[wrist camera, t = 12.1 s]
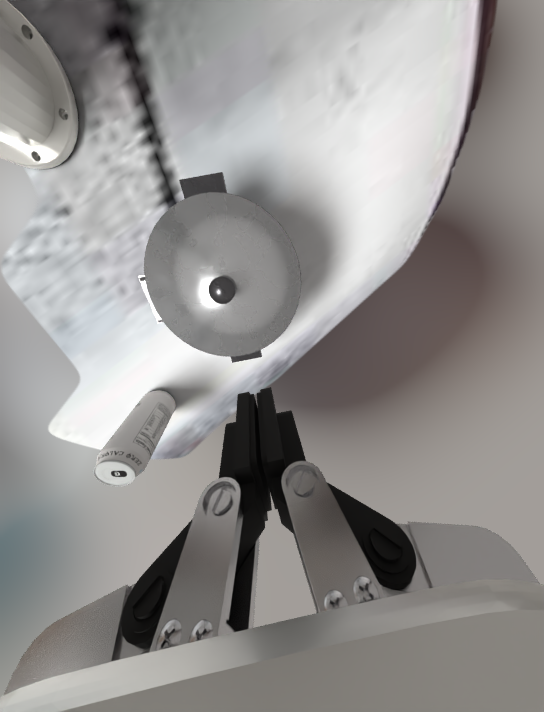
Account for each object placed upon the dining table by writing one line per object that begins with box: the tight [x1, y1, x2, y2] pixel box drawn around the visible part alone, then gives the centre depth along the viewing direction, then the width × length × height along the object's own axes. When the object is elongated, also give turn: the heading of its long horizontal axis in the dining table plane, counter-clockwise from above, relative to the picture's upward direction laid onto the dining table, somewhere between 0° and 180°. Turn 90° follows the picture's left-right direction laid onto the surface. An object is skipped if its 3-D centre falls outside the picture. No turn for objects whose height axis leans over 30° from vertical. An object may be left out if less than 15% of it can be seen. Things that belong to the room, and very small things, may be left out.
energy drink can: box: [93, 390, 176, 486], centre depth 33 cm, size 6×6×15 cm
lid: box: [139, 192, 301, 356], centre depth 22 cm, size 17×18×4 cm
